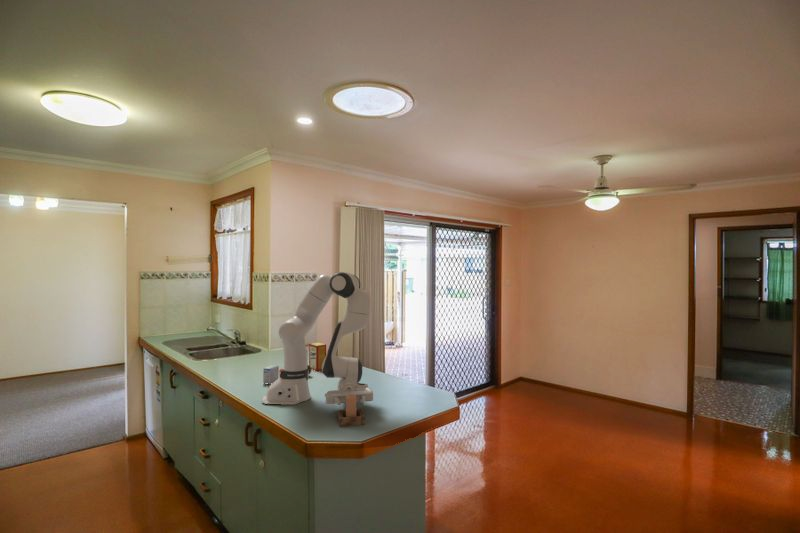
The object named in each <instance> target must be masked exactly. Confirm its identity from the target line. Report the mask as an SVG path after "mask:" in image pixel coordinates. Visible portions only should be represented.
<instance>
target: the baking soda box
mask: <svg viewBox="0 0 800 533" xmlns="http://www.w3.org/2000/svg"><path fill="white" fill-rule="evenodd" d="M308 345H309V346H308V365H309V366H310V368H311V370H312V369H313V370H312V371H314V370H315V372H322V371H321V370H322V364H323V361H324V359H325V357H326V355H327V344H325V343H324V342H323V343H321V342H313V343H309V344H308Z"/></svg>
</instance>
